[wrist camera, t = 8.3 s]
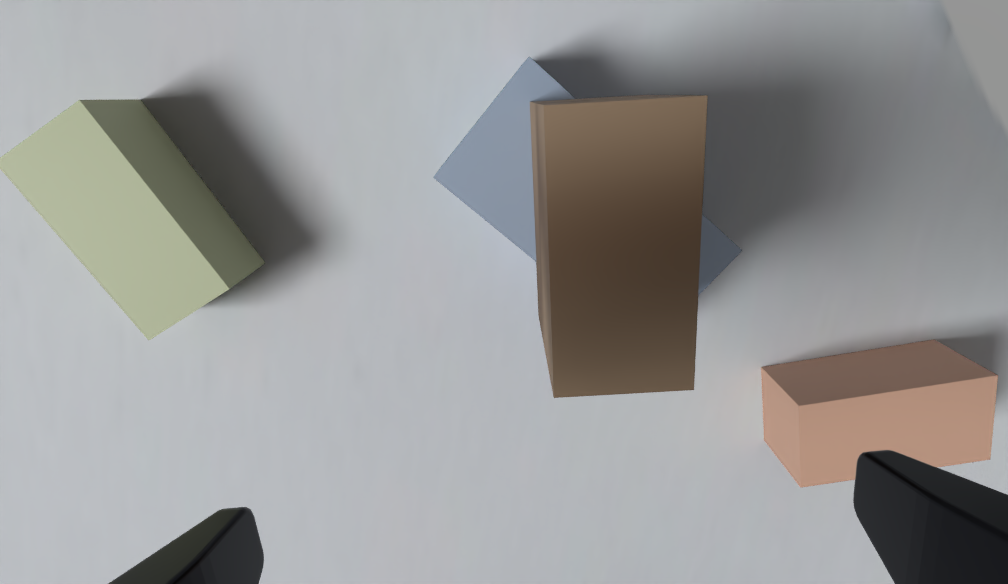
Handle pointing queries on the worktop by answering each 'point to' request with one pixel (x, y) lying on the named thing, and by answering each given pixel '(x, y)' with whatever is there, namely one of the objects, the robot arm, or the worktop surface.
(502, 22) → the worktop surface
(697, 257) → the walnut brick
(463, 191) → the slate brick
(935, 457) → the terracotta brick
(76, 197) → the olive brick
